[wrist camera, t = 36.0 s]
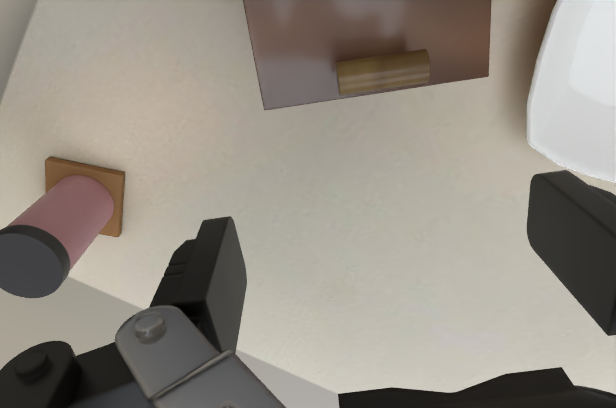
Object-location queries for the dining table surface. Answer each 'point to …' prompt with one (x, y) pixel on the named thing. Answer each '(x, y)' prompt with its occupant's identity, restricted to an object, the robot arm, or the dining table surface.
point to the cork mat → (106, 177)
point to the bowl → (576, 89)
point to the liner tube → (52, 236)
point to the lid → (364, 46)
